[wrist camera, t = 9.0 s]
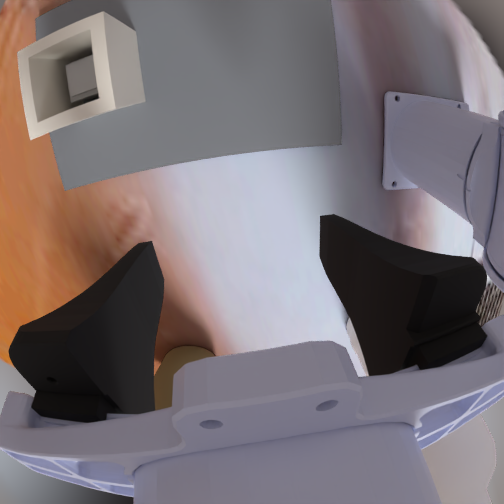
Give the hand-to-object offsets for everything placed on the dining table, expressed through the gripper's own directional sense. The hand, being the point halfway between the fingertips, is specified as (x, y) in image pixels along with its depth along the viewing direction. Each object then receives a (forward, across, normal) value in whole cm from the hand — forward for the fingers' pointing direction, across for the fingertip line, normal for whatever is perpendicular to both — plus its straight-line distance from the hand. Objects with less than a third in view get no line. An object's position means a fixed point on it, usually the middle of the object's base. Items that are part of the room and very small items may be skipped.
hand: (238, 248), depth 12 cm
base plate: (+9, +2, -9) cm, 13 cm away
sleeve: (+8, +7, -9) cm, 14 cm away
